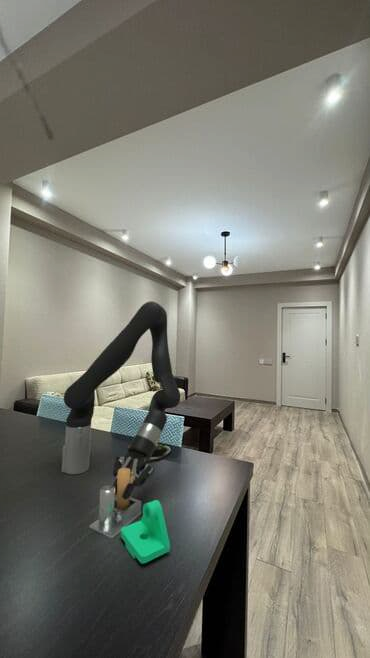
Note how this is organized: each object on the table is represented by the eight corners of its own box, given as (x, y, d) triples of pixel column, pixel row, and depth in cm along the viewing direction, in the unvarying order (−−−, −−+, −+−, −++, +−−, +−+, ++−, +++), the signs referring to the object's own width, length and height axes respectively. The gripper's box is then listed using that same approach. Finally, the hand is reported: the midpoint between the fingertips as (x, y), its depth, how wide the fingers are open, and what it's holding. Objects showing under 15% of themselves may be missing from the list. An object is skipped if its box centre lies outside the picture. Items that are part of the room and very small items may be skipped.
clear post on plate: (120, 504, 89) (122, 470, 90) (141, 513, 86) (143, 477, 86) (89, 527, 79) (91, 488, 79) (111, 538, 75) (113, 497, 75)
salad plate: (116, 455, 126) (117, 445, 126) (141, 442, 142) (141, 433, 142) (153, 466, 117) (153, 455, 117) (175, 451, 133) (175, 441, 133)
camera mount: (119, 538, 75) (121, 498, 75) (145, 528, 80) (146, 490, 80) (141, 569, 65) (143, 523, 66) (169, 555, 70) (171, 512, 70)
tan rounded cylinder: (115, 512, 82) (116, 473, 83) (117, 504, 86) (119, 467, 86) (127, 512, 82) (129, 473, 83) (129, 505, 86) (131, 467, 86)
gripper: (123, 430, 95) (94, 484, 84) (159, 439, 88) (132, 499, 77) (133, 441, 99) (106, 494, 88) (168, 451, 92) (143, 509, 81)
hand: (118, 496), depth 83 cm, fingers closed on tan rounded cylinder, 3 cm apart
